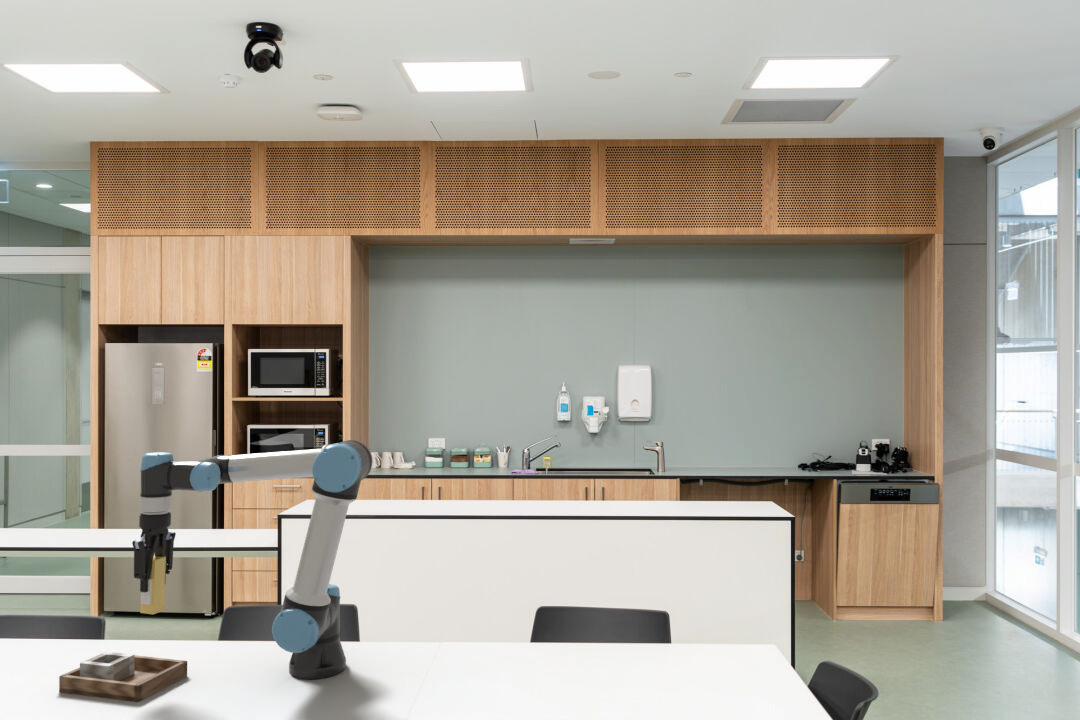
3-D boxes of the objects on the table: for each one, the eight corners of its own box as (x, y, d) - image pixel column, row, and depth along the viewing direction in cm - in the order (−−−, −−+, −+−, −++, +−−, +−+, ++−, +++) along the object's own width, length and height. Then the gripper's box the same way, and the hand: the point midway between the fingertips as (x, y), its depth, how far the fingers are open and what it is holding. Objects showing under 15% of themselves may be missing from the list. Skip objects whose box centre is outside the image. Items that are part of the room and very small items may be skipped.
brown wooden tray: (187, 675, 222) (187, 653, 222) (138, 701, 204) (138, 677, 204) (112, 667, 228) (113, 645, 228) (59, 692, 210) (59, 668, 211)
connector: (164, 610, 217) (165, 556, 217) (153, 614, 213) (155, 560, 214) (151, 608, 218) (152, 555, 218) (140, 612, 214) (142, 558, 215)
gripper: (165, 505, 225) (163, 591, 225) (119, 516, 209) (116, 609, 209) (189, 507, 223) (186, 594, 223) (144, 518, 207) (141, 612, 207)
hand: (152, 601), depth 216 cm, fingers closed on connector, 4 cm apart
